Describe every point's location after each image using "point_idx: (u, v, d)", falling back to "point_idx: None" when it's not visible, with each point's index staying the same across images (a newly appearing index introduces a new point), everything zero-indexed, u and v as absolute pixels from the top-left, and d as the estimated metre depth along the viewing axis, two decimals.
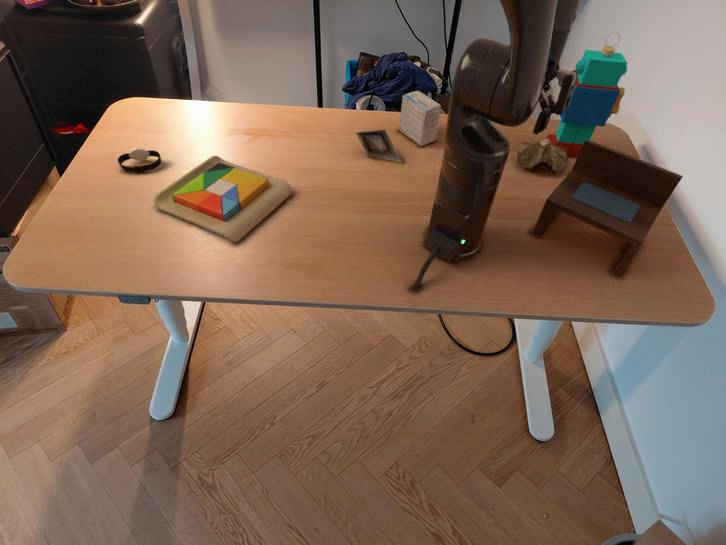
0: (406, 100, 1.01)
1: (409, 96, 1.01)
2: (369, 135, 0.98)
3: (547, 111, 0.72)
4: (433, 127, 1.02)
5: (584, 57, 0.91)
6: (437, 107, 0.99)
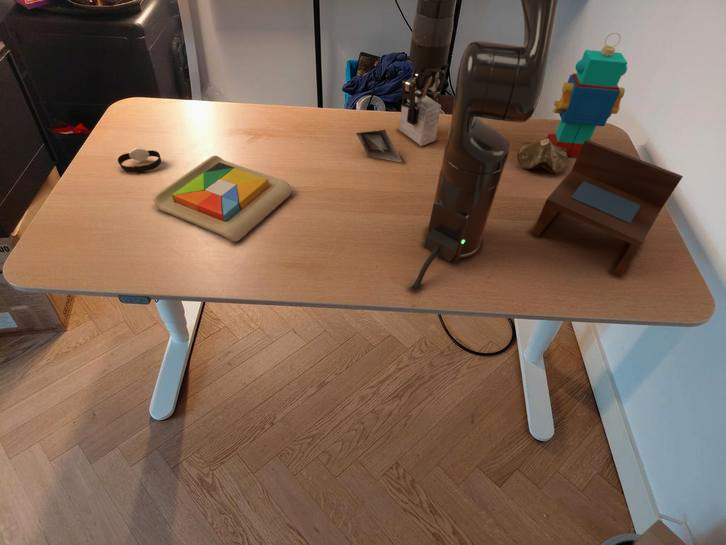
0: None
1: None
2: (369, 135, 0.98)
3: None
4: (433, 127, 1.02)
5: (584, 57, 0.91)
6: (437, 107, 0.99)
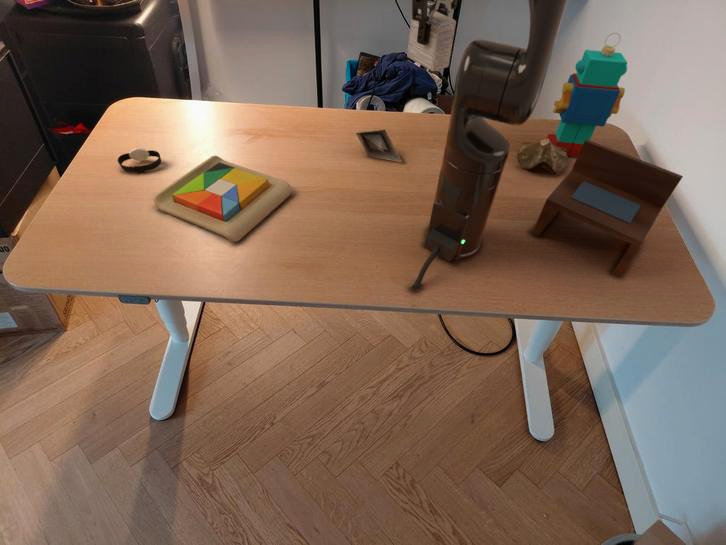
0: None
1: None
2: (369, 135, 0.98)
3: None
4: (447, 48, 0.89)
5: (584, 57, 0.91)
6: (452, 23, 0.86)
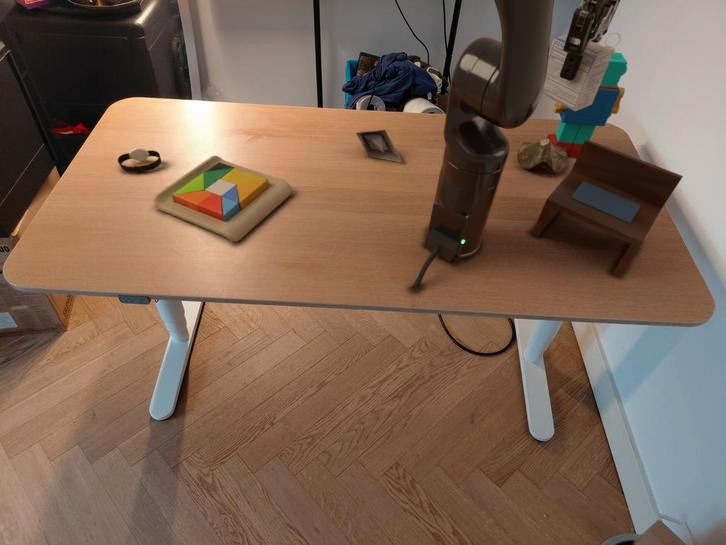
0: (559, 45, 0.72)
1: (563, 40, 0.71)
2: (369, 135, 0.98)
3: None
4: (596, 84, 0.72)
5: None
6: (609, 53, 0.69)
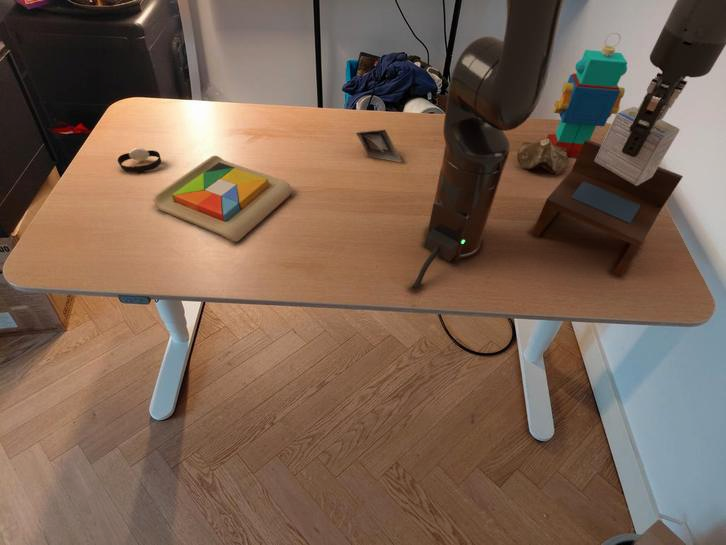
0: (621, 120, 0.70)
1: (627, 115, 0.70)
2: (369, 135, 0.98)
3: None
4: (659, 160, 0.71)
5: (584, 57, 0.91)
6: (675, 132, 0.68)
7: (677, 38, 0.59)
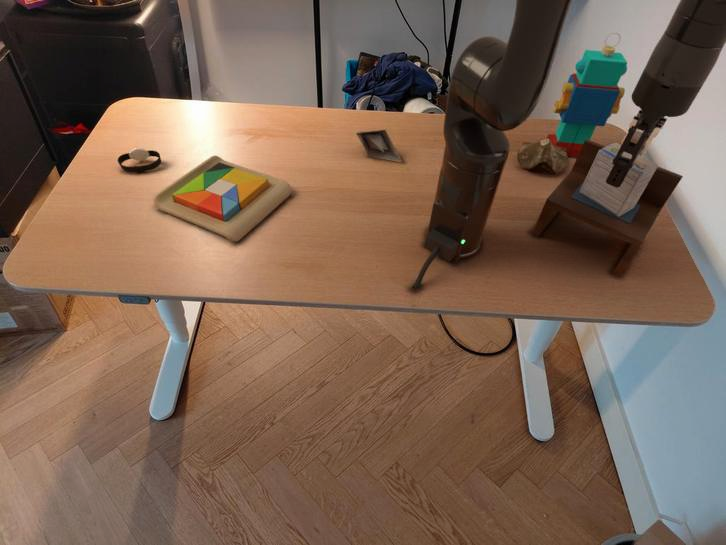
0: (604, 156, 0.75)
1: (609, 152, 0.74)
2: (369, 135, 0.98)
3: None
4: (639, 193, 0.75)
5: (584, 57, 0.91)
6: (654, 168, 0.72)
7: (656, 81, 0.63)
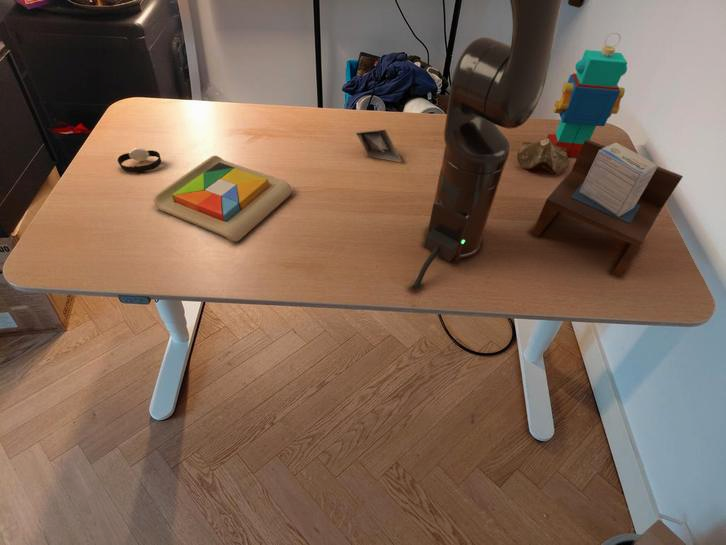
0: (604, 156, 0.75)
1: (609, 152, 0.74)
2: (369, 135, 0.98)
3: None
4: (639, 193, 0.75)
5: (584, 57, 0.91)
6: (654, 168, 0.72)
7: None
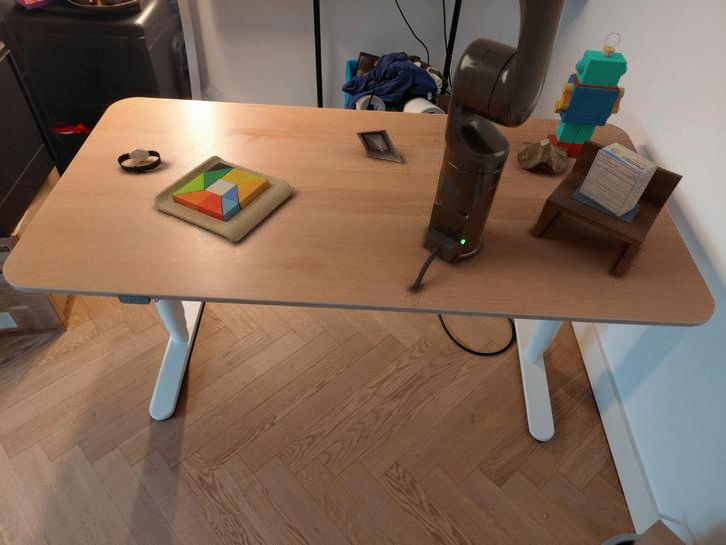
0: (604, 156, 0.75)
1: (609, 152, 0.74)
2: (369, 135, 0.98)
3: None
4: (639, 193, 0.75)
5: (584, 57, 0.91)
6: (654, 168, 0.72)
7: None
